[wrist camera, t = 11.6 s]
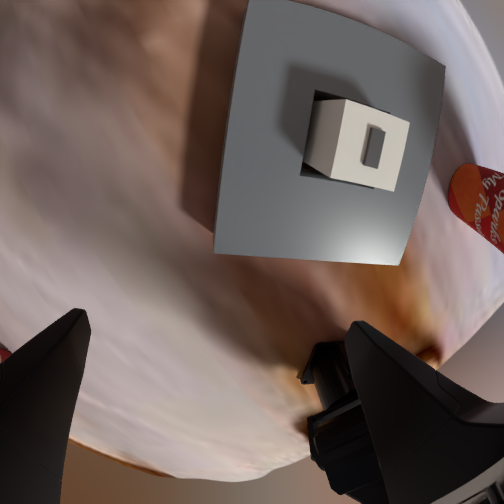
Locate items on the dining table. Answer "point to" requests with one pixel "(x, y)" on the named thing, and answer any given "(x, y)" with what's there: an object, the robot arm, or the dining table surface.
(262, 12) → the socket plate
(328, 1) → the dining table surface
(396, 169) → the block
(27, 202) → the dining table surface
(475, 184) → the paper cup
